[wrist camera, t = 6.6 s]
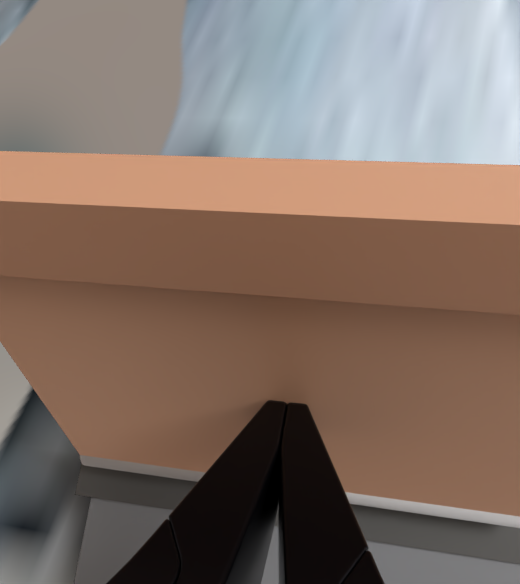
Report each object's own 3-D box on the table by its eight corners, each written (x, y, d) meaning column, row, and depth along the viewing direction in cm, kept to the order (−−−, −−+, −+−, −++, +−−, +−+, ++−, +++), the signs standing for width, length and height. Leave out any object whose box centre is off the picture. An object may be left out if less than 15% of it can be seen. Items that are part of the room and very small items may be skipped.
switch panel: (945, 1030, 9) (1171, 1248, 7) (53, 790, 13) (-9, 881, 10) (778, 344, 14) (879, 328, 11) (149, 295, 17) (122, 274, 15)
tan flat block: (518, 544, 10) (867, 240, 4) (85, 479, 12) (-126, 195, 6) (500, 481, 12) (753, 171, 5) (108, 430, 13) (-48, 150, 7)
